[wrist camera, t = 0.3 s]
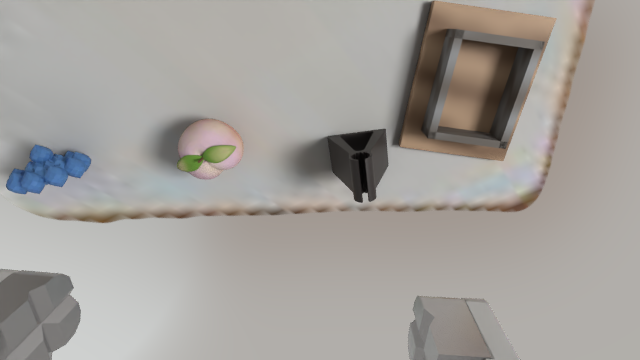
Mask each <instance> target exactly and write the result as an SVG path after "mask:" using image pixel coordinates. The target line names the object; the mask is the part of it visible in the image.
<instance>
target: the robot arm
mask: <svg viewBox="0 0 640 360" xmlns="http://www.w3.org/2000/svg"><path fill="white" fill-rule="evenodd" d="M73 288H74V287H73V285H72V282H71V280H70V277H69V276H67V275H64V274H58V273H47V272H35V271H24V270H22V271H18V270H7V269H0V360H52V352H53V351H55V350H57V349H59V348H60V347H62V346H64V345H66V344H67V342H68V341H69V340H70V339H71V337H72V336H73V335H74V334H75V332H76V329H77V327H78V325H79V322H80V313H81V310H80V307H79V303H78V302H77V301H76V300H75V299H74V298H73V297H72V296H70V293H71V291H72V290H73ZM413 311H414V315H415V320H414V321H413V322H412V323H410V328H409V334H408V349H409V357H410V360H520V358H519V356H518V355H517V353H516V351H515V350H514V348H513V346H512V344H511V342H510V341H509V339H508V337H507V335H506V333H505V332H504V330H503V328H502V327H501V325H500V323H499V321H498V319H497V317H496V316H495V314H494V312H493V310H492V309H491V307H490V305H489V303H488V302H487V301H486V300H484V299H472V298H461V299H460V298H445V297H427V296H426V297H425V296H417V297H416V300H415V302H414V307H413Z"/></svg>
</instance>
